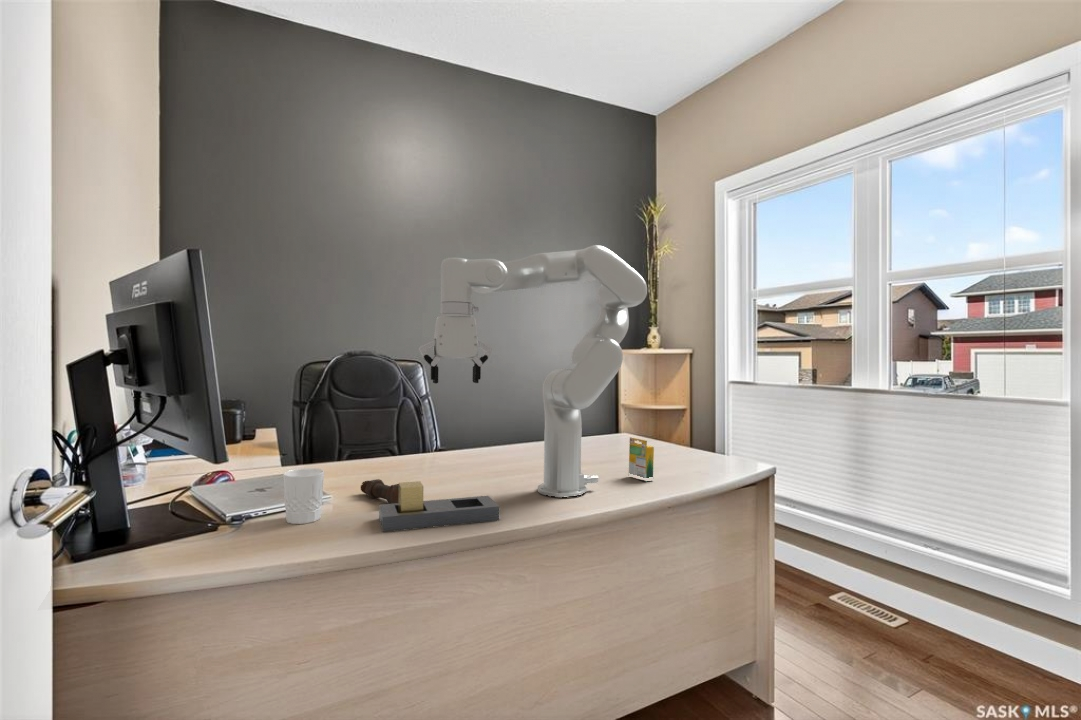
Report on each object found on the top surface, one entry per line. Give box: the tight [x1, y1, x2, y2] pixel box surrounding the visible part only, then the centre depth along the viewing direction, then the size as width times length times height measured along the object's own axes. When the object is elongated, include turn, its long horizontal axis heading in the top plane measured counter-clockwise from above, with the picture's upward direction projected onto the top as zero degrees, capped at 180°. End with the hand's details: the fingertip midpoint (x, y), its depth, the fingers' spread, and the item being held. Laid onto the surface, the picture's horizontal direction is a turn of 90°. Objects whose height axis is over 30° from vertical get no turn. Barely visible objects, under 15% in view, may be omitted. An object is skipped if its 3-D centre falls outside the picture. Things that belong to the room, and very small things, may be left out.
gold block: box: [398, 480, 424, 513], centre depth 115 cm, size 4×4×8 cm
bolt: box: [360, 478, 399, 504], centre depth 132 cm, size 6×5×15 cm
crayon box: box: [628, 437, 655, 478], centre depth 157 cm, size 7×3×12 cm, turn 32°
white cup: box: [282, 467, 325, 525], centre depth 116 cm, size 8×8×10 cm
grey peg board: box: [378, 495, 500, 533], centre depth 117 cm, size 24×9×3 cm, turn 111°
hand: (455, 382), depth 131 cm, fingers open, 9 cm apart
